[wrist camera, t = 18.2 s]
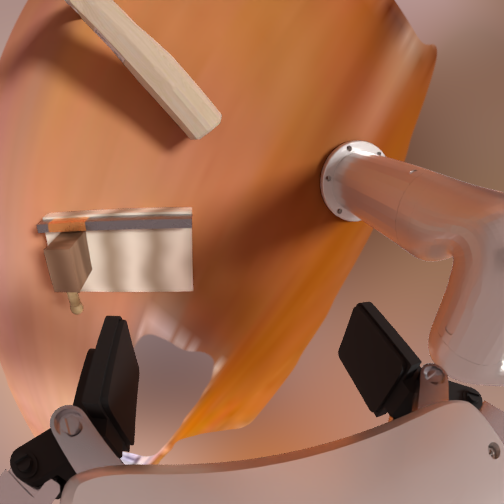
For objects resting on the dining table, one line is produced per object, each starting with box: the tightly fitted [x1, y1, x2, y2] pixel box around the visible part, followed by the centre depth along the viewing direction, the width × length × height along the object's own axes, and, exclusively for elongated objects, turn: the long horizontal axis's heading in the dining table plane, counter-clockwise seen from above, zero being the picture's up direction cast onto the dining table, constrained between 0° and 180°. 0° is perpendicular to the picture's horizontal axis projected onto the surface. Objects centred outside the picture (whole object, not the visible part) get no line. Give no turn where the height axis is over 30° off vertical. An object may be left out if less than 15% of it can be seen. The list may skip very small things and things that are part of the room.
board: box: [43, 207, 193, 292], centre depth 36 cm, size 22×12×2 cm, turn 86°
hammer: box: [65, 0, 222, 140], centre depth 21 cm, size 16×5×30 cm
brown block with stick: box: [44, 231, 92, 315], centre depth 31 cm, size 4×10×6 cm, turn 176°
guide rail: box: [37, 214, 192, 233], centre depth 32 cm, size 22×1×2 cm, turn 86°
